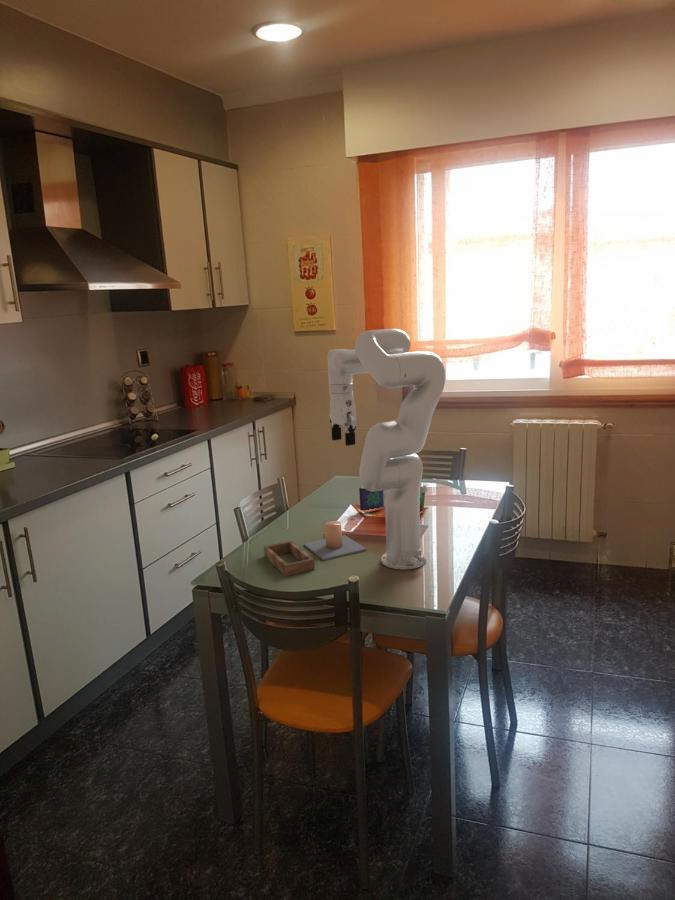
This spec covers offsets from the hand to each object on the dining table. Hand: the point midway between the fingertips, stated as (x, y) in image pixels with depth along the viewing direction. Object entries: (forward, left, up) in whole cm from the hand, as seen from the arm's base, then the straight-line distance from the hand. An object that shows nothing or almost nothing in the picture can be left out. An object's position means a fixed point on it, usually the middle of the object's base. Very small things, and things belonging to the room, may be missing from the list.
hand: (343, 442), depth 210 cm
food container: (-1, -23, -28) cm, 37 cm away
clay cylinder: (-15, +12, -28) cm, 34 cm away
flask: (+10, -15, -29) cm, 34 cm away
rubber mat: (-15, +12, -28) cm, 34 cm away
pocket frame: (-18, +28, -28) cm, 44 cm away
